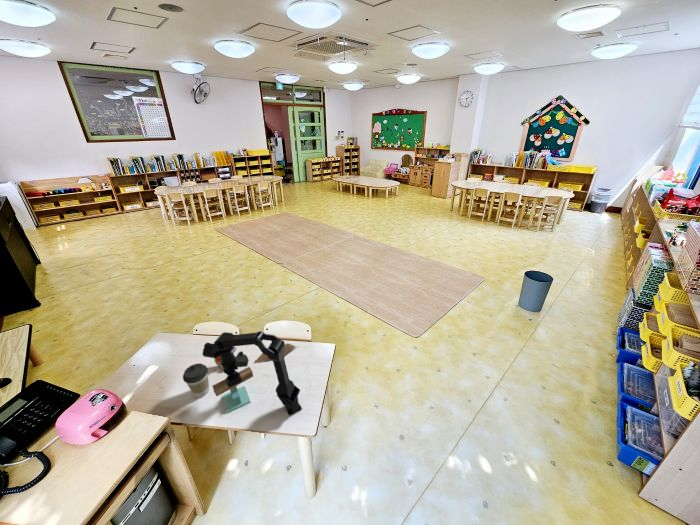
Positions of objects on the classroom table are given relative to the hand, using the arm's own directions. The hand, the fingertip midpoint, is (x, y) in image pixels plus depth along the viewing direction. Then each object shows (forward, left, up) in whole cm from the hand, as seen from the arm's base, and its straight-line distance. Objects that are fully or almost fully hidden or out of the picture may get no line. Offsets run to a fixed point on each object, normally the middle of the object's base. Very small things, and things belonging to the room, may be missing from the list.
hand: (233, 382), depth 143 cm
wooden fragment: (+20, -26, -12) cm, 35 cm away
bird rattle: (+27, +2, -12) cm, 29 cm away
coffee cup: (+15, +15, -12) cm, 24 cm away
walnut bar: (0, 0, -1) cm, 1 cm away
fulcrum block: (0, +1, -11) cm, 11 cm away
